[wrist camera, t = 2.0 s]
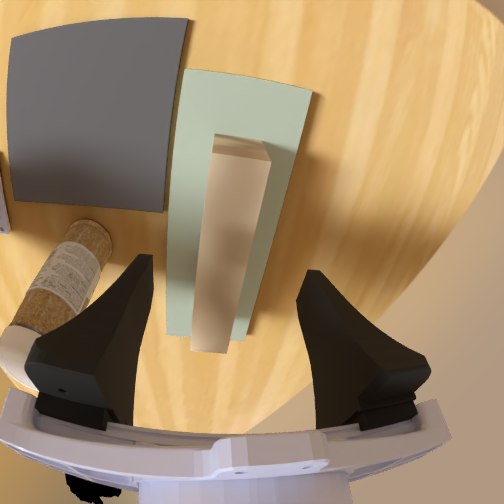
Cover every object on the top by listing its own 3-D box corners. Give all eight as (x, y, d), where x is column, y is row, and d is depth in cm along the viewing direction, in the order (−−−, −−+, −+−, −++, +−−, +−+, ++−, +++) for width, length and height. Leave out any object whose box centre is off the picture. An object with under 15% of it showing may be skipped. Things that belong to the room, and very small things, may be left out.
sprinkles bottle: (90, 268, 24) (38, 399, 13) (58, 232, 21) (-16, 357, 10) (124, 248, 23) (74, 393, 12) (91, 206, 20) (8, 344, 9)
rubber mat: (17, 198, 19) (14, 200, 18) (14, 37, 11) (11, 38, 10) (163, 210, 21) (162, 212, 21) (188, 19, 13) (188, 18, 13)
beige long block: (192, 311, 26) (190, 350, 23) (214, 133, 17) (211, 152, 14) (225, 314, 27) (226, 353, 23) (261, 140, 18) (271, 161, 14)
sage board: (167, 327, 29) (166, 334, 28) (186, 68, 15) (184, 68, 15) (243, 333, 30) (244, 341, 30) (308, 89, 17) (312, 91, 16)
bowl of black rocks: (104, 449, 60) (99, 505, 45) (135, 466, 72) (133, 513, 57) (55, 440, 61) (48, 489, 45) (89, 459, 72) (85, 502, 57)
